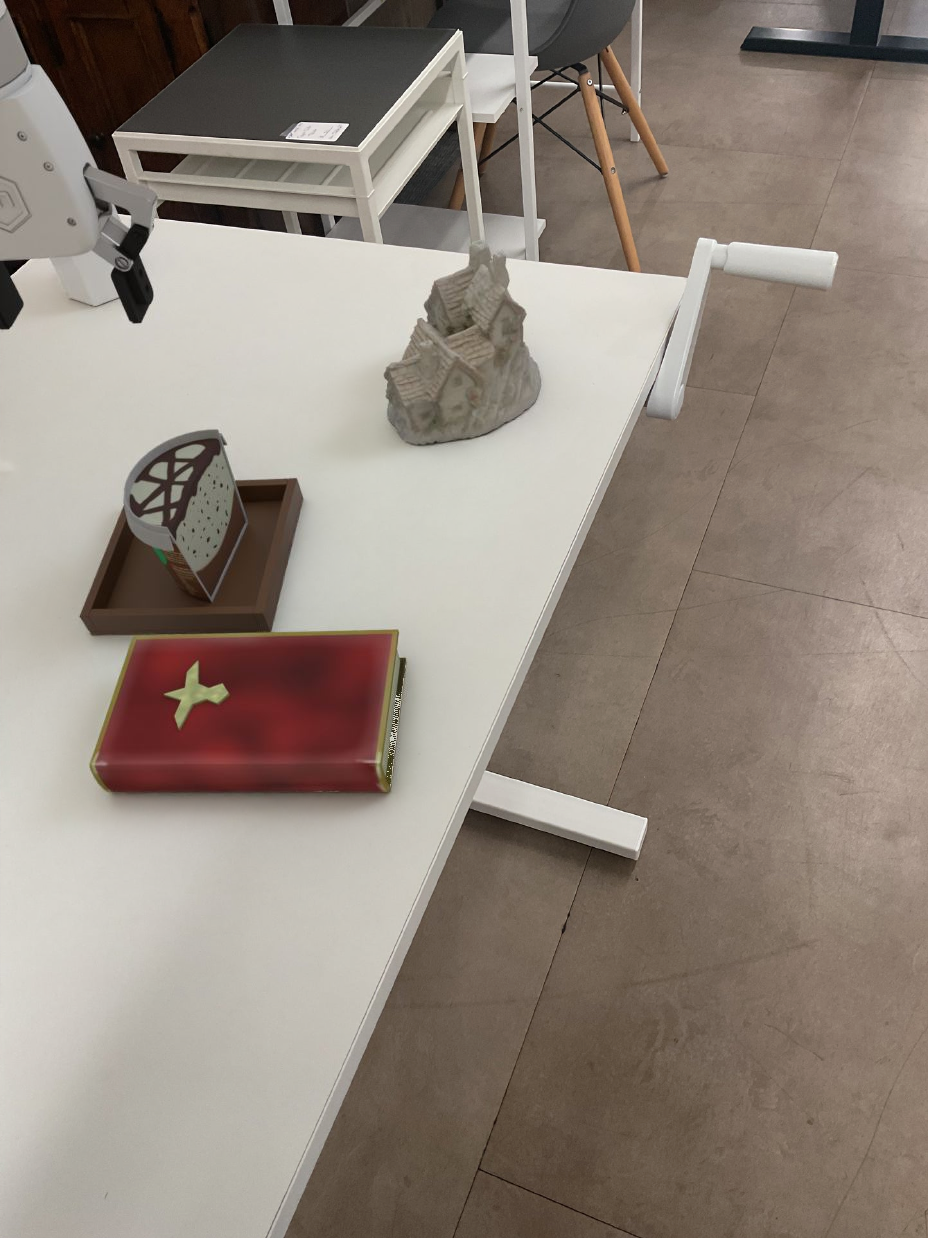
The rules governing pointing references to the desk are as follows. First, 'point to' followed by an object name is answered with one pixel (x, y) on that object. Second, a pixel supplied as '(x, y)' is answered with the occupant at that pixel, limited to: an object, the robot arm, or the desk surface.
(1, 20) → the robot arm
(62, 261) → the jar
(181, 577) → the food container
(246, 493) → the tray
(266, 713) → the hardcover book
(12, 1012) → the desk surface
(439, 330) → the ceramic cottage
